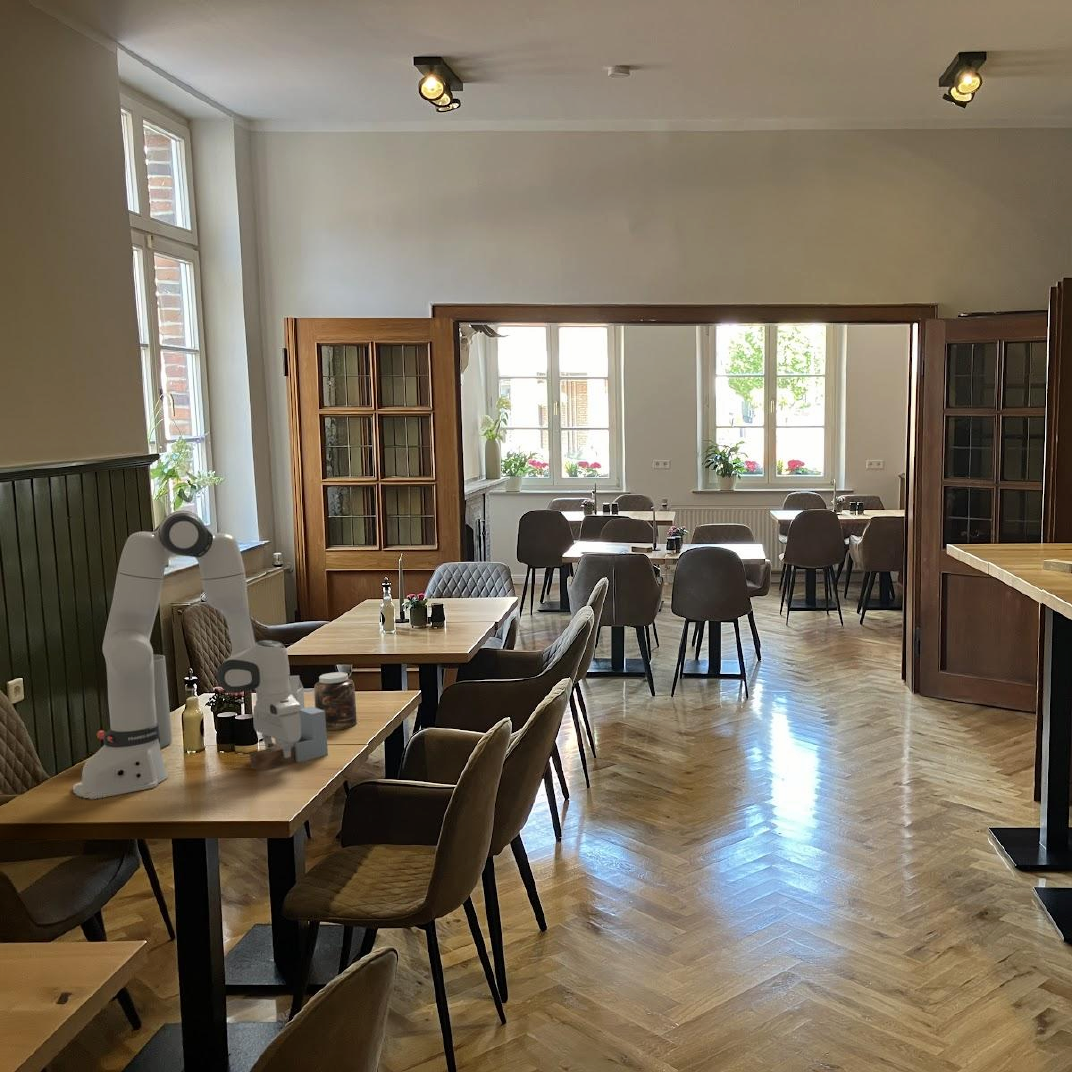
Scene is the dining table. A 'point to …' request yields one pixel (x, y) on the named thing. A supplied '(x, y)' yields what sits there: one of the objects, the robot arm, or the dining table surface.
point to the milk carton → (297, 694)
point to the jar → (336, 700)
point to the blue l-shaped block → (312, 735)
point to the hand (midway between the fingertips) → (278, 753)
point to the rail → (271, 757)
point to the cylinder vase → (162, 700)
